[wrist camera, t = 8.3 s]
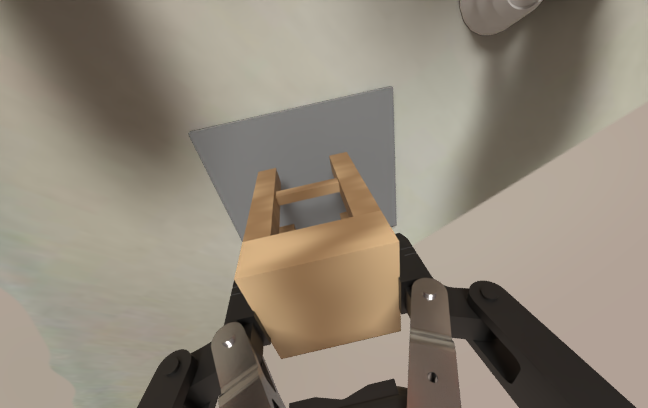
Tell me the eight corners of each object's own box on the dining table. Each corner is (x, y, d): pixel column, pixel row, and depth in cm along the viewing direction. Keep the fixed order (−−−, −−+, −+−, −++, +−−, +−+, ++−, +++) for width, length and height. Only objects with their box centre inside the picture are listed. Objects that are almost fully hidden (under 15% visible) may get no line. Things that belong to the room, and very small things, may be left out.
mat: (390, 86, 17) (393, 87, 16) (394, 222, 23) (396, 225, 23) (190, 131, 17) (187, 133, 16) (251, 254, 23) (250, 258, 23)
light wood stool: (346, 151, 16) (399, 241, 9) (356, 221, 19) (400, 331, 12) (258, 171, 16) (234, 279, 9) (283, 238, 19) (281, 359, 12)
